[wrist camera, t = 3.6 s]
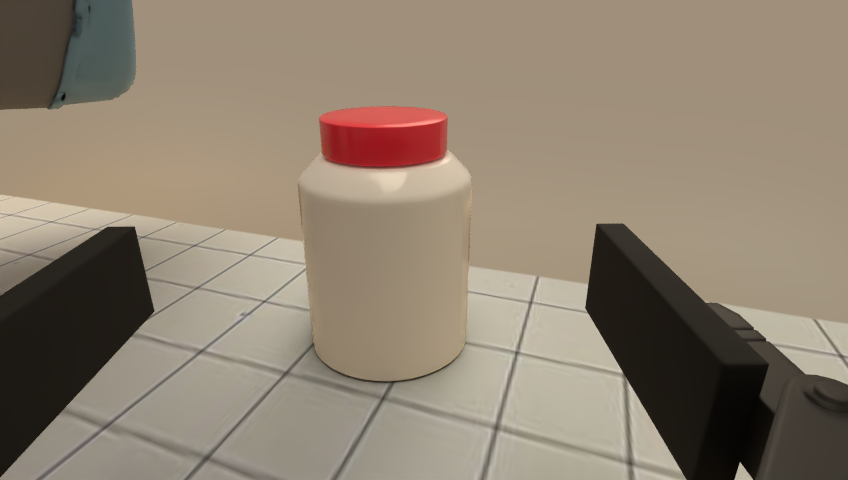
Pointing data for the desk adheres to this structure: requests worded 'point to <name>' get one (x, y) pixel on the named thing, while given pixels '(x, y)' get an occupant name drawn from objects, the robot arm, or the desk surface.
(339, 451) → the desk surface
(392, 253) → the pill bottle
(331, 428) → the desk surface
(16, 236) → the desk surface
